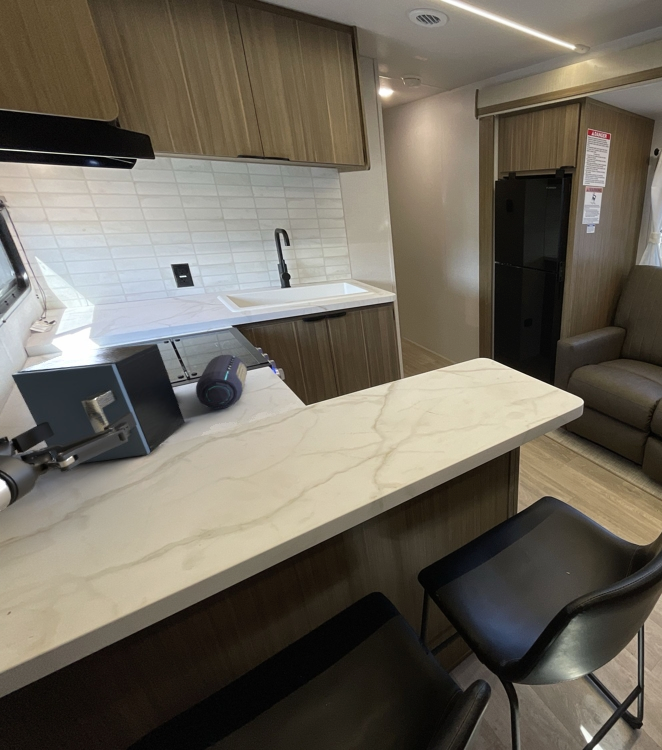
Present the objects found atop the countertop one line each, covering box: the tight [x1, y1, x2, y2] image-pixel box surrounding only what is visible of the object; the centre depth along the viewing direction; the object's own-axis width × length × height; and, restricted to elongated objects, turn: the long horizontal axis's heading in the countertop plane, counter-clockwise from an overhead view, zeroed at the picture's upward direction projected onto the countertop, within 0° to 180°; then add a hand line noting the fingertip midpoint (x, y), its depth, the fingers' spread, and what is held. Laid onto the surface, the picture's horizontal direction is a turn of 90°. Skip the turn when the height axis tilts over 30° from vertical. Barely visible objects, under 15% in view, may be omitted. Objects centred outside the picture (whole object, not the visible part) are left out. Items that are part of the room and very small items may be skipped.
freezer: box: [16, 343, 186, 453], centre depth 86 cm, size 14×16×20 cm
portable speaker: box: [195, 354, 248, 410], centre depth 111 cm, size 25×10×10 cm, turn 27°
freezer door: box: [11, 364, 151, 464], centre depth 76 cm, size 7×16×20 cm, turn 102°
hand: (91, 423), depth 76 cm, fingers open, 13 cm apart
